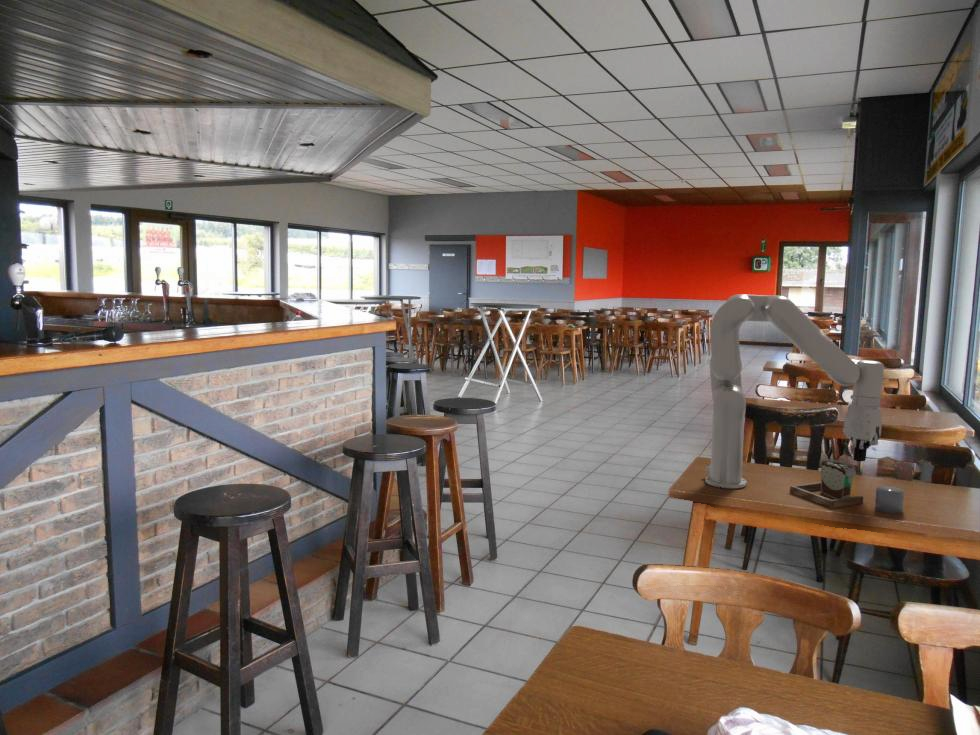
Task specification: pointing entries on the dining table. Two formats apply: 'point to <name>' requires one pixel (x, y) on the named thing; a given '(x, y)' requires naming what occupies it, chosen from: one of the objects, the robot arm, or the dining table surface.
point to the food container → (836, 478)
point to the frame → (804, 492)
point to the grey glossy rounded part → (889, 499)
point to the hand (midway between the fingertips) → (859, 460)
